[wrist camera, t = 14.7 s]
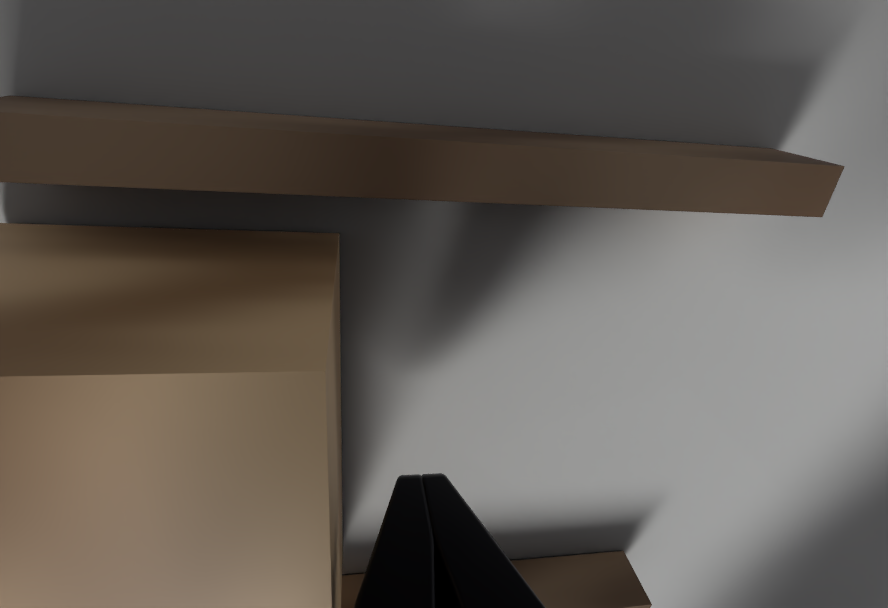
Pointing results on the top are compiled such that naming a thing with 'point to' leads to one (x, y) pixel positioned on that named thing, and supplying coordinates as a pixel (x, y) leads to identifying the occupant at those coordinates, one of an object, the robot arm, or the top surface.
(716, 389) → the top surface
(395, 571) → the robot arm
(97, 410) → the block
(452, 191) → the bar
